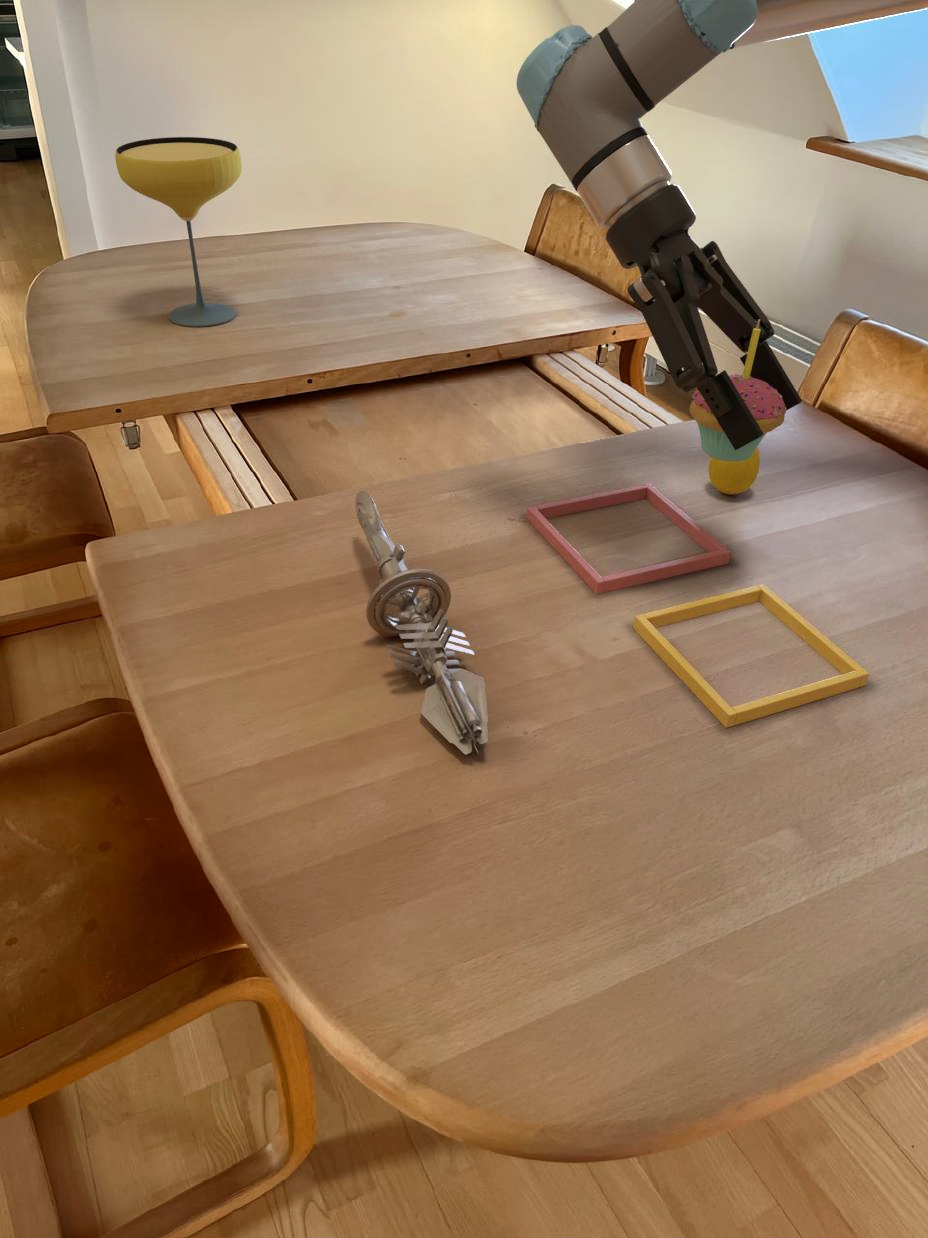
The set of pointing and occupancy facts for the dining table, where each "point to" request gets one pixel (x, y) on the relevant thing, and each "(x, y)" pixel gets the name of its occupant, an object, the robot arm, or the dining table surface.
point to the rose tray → (638, 576)
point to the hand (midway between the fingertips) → (769, 424)
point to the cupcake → (758, 400)
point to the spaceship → (424, 635)
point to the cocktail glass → (183, 195)
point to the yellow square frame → (768, 705)
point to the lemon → (734, 473)
